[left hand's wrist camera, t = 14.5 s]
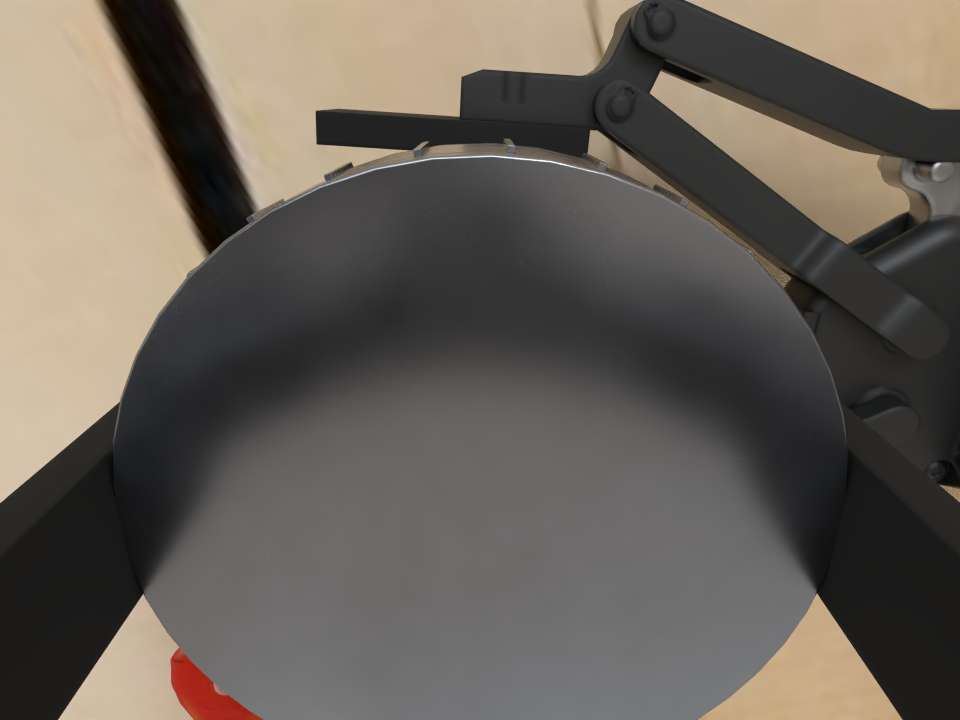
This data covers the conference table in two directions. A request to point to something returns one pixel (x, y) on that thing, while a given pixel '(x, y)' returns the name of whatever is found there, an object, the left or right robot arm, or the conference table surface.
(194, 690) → the fish
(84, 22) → the conference table surface
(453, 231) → the lid
